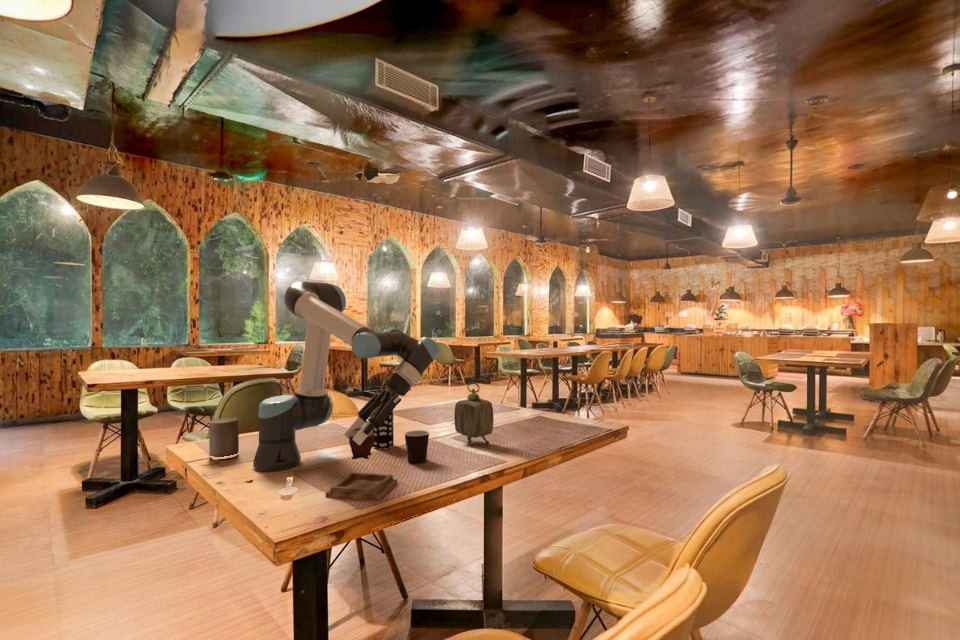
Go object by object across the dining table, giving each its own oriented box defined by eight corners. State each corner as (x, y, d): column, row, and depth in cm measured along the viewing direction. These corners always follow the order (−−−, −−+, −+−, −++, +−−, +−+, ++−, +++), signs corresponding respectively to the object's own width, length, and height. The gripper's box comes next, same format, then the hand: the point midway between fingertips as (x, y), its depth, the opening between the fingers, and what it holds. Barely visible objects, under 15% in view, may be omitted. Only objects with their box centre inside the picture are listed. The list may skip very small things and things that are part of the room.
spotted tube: (397, 445, 185) (397, 395, 185) (383, 450, 178) (382, 398, 178) (382, 442, 189) (382, 394, 190) (367, 447, 182) (367, 396, 183)
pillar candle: (244, 453, 175) (244, 414, 175) (227, 461, 165) (227, 419, 165) (220, 453, 176) (220, 414, 176) (202, 460, 166) (202, 419, 166)
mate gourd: (344, 457, 135) (344, 406, 135) (367, 451, 140) (367, 402, 141) (359, 462, 130) (358, 409, 130) (382, 456, 135) (381, 405, 136)
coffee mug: (424, 465, 158) (424, 436, 158) (401, 464, 159) (400, 435, 160) (434, 456, 169) (434, 429, 169) (412, 455, 171) (412, 428, 171)
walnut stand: (325, 496, 130) (325, 487, 130) (348, 480, 143) (348, 472, 143) (379, 500, 127) (379, 490, 127) (397, 483, 141) (397, 474, 141)
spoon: (299, 476, 149) (299, 474, 149) (297, 495, 132) (297, 493, 132) (281, 478, 147) (281, 476, 147) (277, 498, 130) (277, 496, 130)
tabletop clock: (493, 445, 184) (493, 382, 185) (477, 449, 178) (477, 384, 178) (469, 438, 195) (468, 379, 195) (452, 442, 188) (452, 381, 189)
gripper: (425, 390, 136) (373, 455, 127) (397, 384, 152) (349, 440, 143) (408, 373, 133) (354, 438, 124) (381, 369, 149) (331, 425, 140)
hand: (351, 439), depth 133 cm, fingers closed on mate gourd, 7 cm apart
